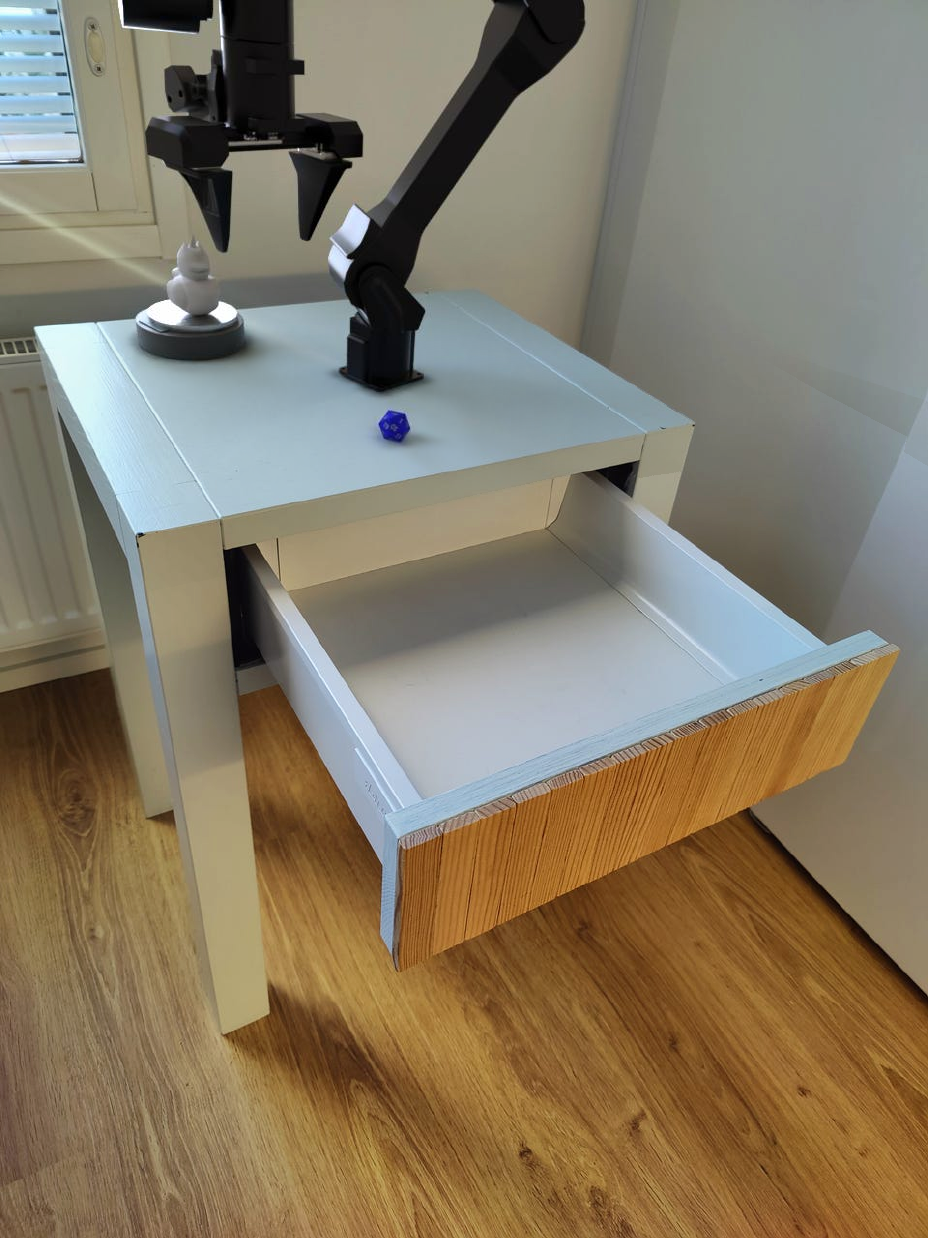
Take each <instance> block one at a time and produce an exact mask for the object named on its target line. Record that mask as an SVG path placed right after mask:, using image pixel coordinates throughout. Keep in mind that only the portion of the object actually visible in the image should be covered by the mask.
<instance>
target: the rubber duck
mask: <svg viewBox="0 0 928 1238" xmlns="http://www.w3.org/2000/svg"><path fill="white" fill-rule="evenodd" d="M209 258H210V257H209V255H208V254H207V252H206V251H205V250H204V248H203V246H202V244H201V242H200V241H199V240H197V241H196V240H195V236H194V233H192V234H191V237H190V241H189V245H188V244H187V243H186V242H185V241H184V242H183V243H182V245H181V247H180V248H179V250H178V252H177V253H176V262H177V263H176V264H177V267H175V268H173V270H172V271H171V275H172V277H173V279H170V280H169V281H168V282H167V284H166V291H167V297H168V300H170V301H171V302H172V303H173V304H174V305H175V306H177V307H179V308H180V309H181V310H183V311H185V312H187V313H189V314H193V315H204V314H208V313H211V312H213V311H214V310H216V309H217V308H218V306H219V301H220V302H221V298H222V286H221V283H220V281H219V280H218V279H217V278H216V277H214V276H212V275H210V272H211V265H210V259H209Z"/></svg>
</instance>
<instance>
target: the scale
mask: <svg viewBox="0 0 928 1238" xmlns="http://www.w3.org/2000/svg"><path fill="white" fill-rule="evenodd" d="M244 320H245V319H244V317H243V316H242V315H241V313H239V312H238V310H237V308H235V307H234V306H233V305H231V304H229V303H226V302H223V301H221V300H220V301H219V306H218V308H217V309H216V310H214V311H213V312H211V313H208V314H204V315H193V314H189V313H187V312H185V311H183V310H181V309H180V308H179V307H177V306H175V305H174V304H173V303H172V302H171V301H170V300H169V299H167V300H163V301H159V302H156V303H154V304H152V305H151V306H150V307H148V308H146V309H144V310H142V311H140V312H139V313H138V314H137V315H136V316H135V328H136V333H137V343H138V345H139V346H140V347H141V349H142V350H144V351H146V352H147V353H150V354H152V355H155V356H158V357H161V358H167V359H173V360H184V361H199V360H200V361H201V360H211V359H217V358H218V359H219V358H223V357H226V356H229V355H232V354H234V353H237V352H238V351H240V350H241V349H243V348H244V346H245V343H246V337H245V321H244Z"/></svg>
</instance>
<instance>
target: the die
mask: <svg viewBox="0 0 928 1238" xmlns="http://www.w3.org/2000/svg"><path fill="white" fill-rule="evenodd" d="M377 423H378V424H377V425H378V427H379V430H380V433H381V435H382V438H383V439H384V440H387V441H392V442H396V443H402V441H403V440H404V438H405V437H406V436H407V434H408V433H409V432H410V431H411V425H410V424H409V423H410V422H409V420H408V417H407V415H406V413H405V412H400V411H395V410H390V409H388V410H387V411H386V413H385V414H384V415H383V417H382V418H380V421H379V422H377Z"/></svg>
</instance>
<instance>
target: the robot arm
mask: <svg viewBox="0 0 928 1238" xmlns="http://www.w3.org/2000/svg"><path fill="white" fill-rule="evenodd" d="M491 2H492V5H494V6H493V8H492V10H491V11H490V14H489V16H488V19H486V20H487V21H486V23H485V25H484V28H483V32H482V35H481V40H480V44H479V47H478V51H477V55H476V59H475V61H474V63H473V65H472V67H471V68H470V70H469V71H468V73H467V74H466V75H465V77H464V79H463V81H462V82H461V83H460V85H459V86H458V88H456V91H455V92H454V94H453V95H452V97H451V98H450V100H449V102H448V103H447V104H446V105H445V107H444V108H443V111H442V112H441V113H440V115H439V116H438V118H437V119H436V121H435V122H434V124H433V125H432V127H431V128H430V130H429V131H428V132H427V134H426V136H425V137H424V138H423V140H422V142H421V144H420V145H419V146H418V147H417V149H416V150H415V152H414V154H413V155H412V157H411V158H410V159H409V161H408V162H407V164H406V165H405V167H404V169H403V170H402V171H401V173H400V175H399V176H398V177H397V179H396V181H395V182H394V184H393V185H392V187H391V188H390V190H389V191H388V193H387V194H386V196H384V198H383V199H382V200H381V201H380V202H379V203H378V204H376V205H375V206H374V207H372V208H371V209H369V210H367V211H365V210H364V209H362V208H361V206H359V205H358V204H357V203H354V204H352V206H351V208H350V209H349V210H348V213H347V215H346V217H345V220H344V222H343V224H341V227H340V228H339V229H338V230H337V231H336V232H335V233H334V234H332V235H330V236H329V240H330V241H331V242H332V246H331V248H330V251H329V253H328V258H327V263H328V270H329V274H330V277H331V278H332V280H333V283H334V284H335V286H337V287H338V289H339V290H340V291H341V292H342V293H343V295H344V296H345V297H346V298H347V300H348V301H349V304H350V305H351V306H353V308H355V309H356V312H355V313H354V316H350V317H349V334H347V336H346V365H345V366H340V367H338V374H340V375H342V376H344V377H346V378H347V379H350V380H352V381H354V382H356V383H359V384H361V385H363V386H364V387H366V388H369V389H371V390H373V391H375V392H378V393H383V392H386V391H390V390H394V389H397V388H400V387H403V386H407V385H410V384H412V383H415V382H419V381H422V380H424V377H425V374H424V373H423V372H420V371H418V370H416V369H415V368H414V363H415V345H416V343H415V342H416V332H417V331H419V329H420V327H421V324H422V322H423V319H424V317H425V315H426V309H425V307H424V306H423V305H422V304H421V303H420V302H419V300H417V299H416V298H415V296H414V295H413V294H412V293H411V292H410V291H409V290H408V289H407V288H406V285H407V282H408V281H409V278H410V276H411V274H412V272H413V270H414V268H415V264H416V262H417V261H416V260H417V256H418V252H419V248H420V244H421V240H422V237H423V235H424V232H425V231H426V229H427V228H428V226H429V225H430V223H431V222H432V220H433V219H434V217H435V216H436V214H437V213H438V211H439V210H440V208H441V207H442V206H443V204H444V203H445V202H446V200H447V198H448V197H449V195H450V194H451V193H452V191H453V190H454V189H455V187H456V185H457V184H458V183H459V181H460V179H461V178H462V177H463V175H464V174H465V173H466V171H467V170H468V168H469V167H470V165H471V164H472V162H473V161H474V159H475V158H476V157H477V155H478V154H479V152H480V151H481V149H482V148H483V146H484V145H485V143H486V142H487V140H488V139H489V138H490V136H491V135H492V134H493V132H494V130H495V129H496V127H497V126H498V125H499V123H500V122H501V120H502V119H503V117H504V116H505V115H506V113H507V112H508V110H509V109H510V107H511V106H512V105H513V103H514V102H515V100H516V99H517V98H518V97H519V96H520V95H521V94H522V93H523V92H525V91H526V90H528V89H529V88H531V87H532V86H533V85H535V84H536V83H538V82H539V81H541V80H543V78H545V77H546V76H547V75H549V74H550V73H551V72H552V71H553V70H554V69H555V68H556V67H557V66H558V65H559V64H560V63H561V62H562V61H563V59H565V58H566V56H567V55H569V53H570V52H571V51H572V50H573V49H574V48H575V47H576V46H577V45H578V43H579V41H580V39H581V38H582V35H583V33H584V30H585V28H586V24H587V23H586V22H587V21H586V4H585V1H584V0H491ZM294 3H295V2H294V0H218V7H219V26H220V42H221V49H217V48H213V49H211V52H212V53H211V55H210V72H208V73H206V74H199V73H195V71H194V69H193V67H192V66H191V65H183V64H182V65H179V64H178V65H177V64H173V65H172V64H171V65H169V66H168V67H166V68H164V69H163V71H164V72H163V75H164V76H163V77H164V78H163V79H164V94H165V98H166V102H167V106H168V108H169V110H170V111H171V112H172V113H173V114H174V113H175V114H178V113H181V114H182V113H185V114H187V115H155V116H151V117H150V120H149V122H148V124H147V127H146V128H145V131H144V137H145V146H146V147H145V148H146V153H147V154H146V155H147V156H150V157H153V158H156V159H158V160H162V162H163V164H164V167H166V168H168V169H171V170H173V171H176V172H178V174H179V175H180V177H182V178H183V180H184V181H185V182H186V183H187V186H188V187H189V189H190V191H191V193H192V194H193V196H194V199H195V201H196V203H197V205H198V207H199V210H200V212H201V215H202V217H203V219H204V222H205V225H206V227H207V229H208V232H209V234H210V236H211V239H212V241H213V244H214V246H215V249H216V250H217V251H218V252H220V253H222V254H226V253H228V251H229V244H230V238H231V219H232V195H233V173H234V172H233V170H231V169H228V168H225V167H223V165H224V164H225V162H226V161H227V159H228V158H229V156H230V153H241V152H260V151H262V152H263V151H279V150H282V151H283V150H288V151H287V154H288V156H289V159H290V161H291V163H292V167H293V168H294V171H295V174H296V188H297V189H296V191H297V192H296V193H297V224H298V232H299V233H298V234H299V238H300V240H301V241H304V242H310V241H311V240H312V238H313V236H314V233H315V231H316V229H317V227H318V225H319V222H320V221H321V218H322V216H323V214H324V211H325V209H326V208H327V205H328V204H329V201H330V199H331V197H332V195H333V194H334V191H335V190H336V188H337V186H338V185H339V183H340V181H341V179H342V177H343V175H344V174H345V172H346V171H347V170H350V169H352V168H353V165H354V164H353V161H352V160H349V159H357V158H358V159H359V158H363V157H364V133H363V131H362V129H361V127H360V125H359V123H358V121H357V120H354V119H350V118H346V117H342V116H339V115H335V114H331V113H327V112H299V113H296V79H295V76H306V75H305V74H306V73H305V72H306V71H305V70H306V69H305V67H306V66H305V65H306V62H305V60H304V59H301V58H295V16H294V15H295V9H294V8H295V7H294V5H295V4H294ZM117 4H118V10H119V18H120V23H121V26H122V28H126V29H135V30H136V29H137V30H145V31H146V30H147V31H158V32H159V31H161V32H170V33H180V34H181V33H182V34H192V35H199V34H200V30H201V22H208V21H212V20H213V16H214V0H117Z"/></svg>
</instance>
